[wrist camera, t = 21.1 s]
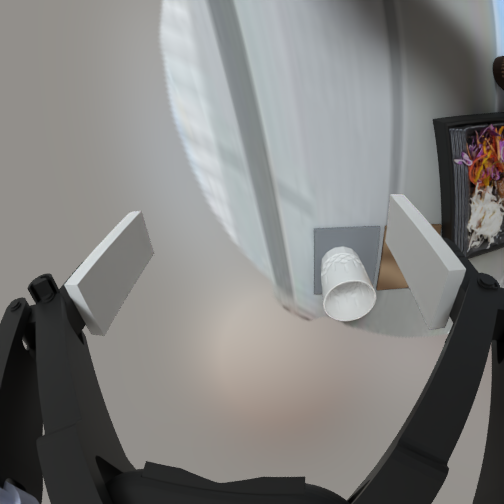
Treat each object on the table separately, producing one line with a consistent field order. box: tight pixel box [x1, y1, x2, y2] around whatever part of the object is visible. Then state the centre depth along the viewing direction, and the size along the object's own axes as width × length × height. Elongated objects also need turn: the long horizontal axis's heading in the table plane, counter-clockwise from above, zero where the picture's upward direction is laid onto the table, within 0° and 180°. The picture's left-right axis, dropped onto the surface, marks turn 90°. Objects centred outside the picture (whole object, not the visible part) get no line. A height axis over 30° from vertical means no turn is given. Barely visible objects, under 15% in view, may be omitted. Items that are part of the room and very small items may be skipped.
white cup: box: [321, 246, 376, 321], centre depth 45 cm, size 8×8×10 cm
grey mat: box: [314, 226, 380, 294], centre depth 49 cm, size 13×11×1 cm
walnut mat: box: [376, 224, 442, 290], centre depth 47 cm, size 13×11×1 cm
